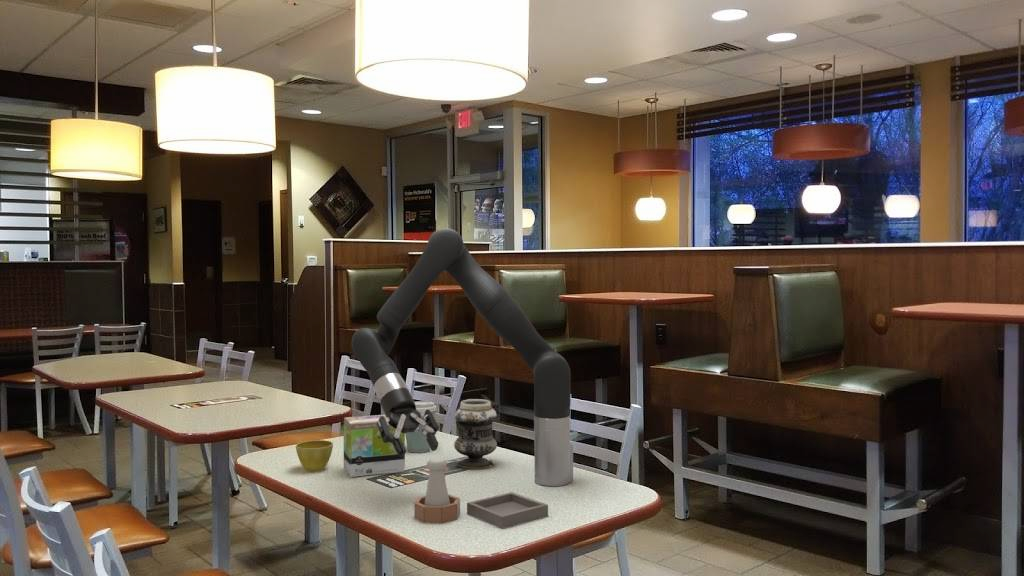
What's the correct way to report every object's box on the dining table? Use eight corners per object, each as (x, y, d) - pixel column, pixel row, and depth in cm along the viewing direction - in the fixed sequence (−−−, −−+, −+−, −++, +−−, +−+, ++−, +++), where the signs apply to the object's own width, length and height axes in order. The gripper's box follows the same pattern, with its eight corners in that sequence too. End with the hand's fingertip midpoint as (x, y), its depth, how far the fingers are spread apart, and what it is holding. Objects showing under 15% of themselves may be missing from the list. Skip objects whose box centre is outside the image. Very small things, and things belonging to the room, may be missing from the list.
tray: (511, 502, 186) (511, 491, 186) (548, 515, 175) (547, 504, 175) (467, 513, 178) (466, 502, 177) (502, 528, 167) (502, 516, 167)
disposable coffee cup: (402, 447, 243) (401, 399, 243) (437, 445, 245) (436, 398, 244) (401, 455, 233) (400, 405, 232) (437, 454, 234) (437, 404, 234)
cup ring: (443, 506, 183) (443, 491, 183) (467, 516, 175) (467, 501, 175) (408, 515, 177) (407, 499, 177) (431, 526, 169) (430, 510, 169)
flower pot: (337, 471, 215) (336, 445, 215) (300, 476, 211) (299, 450, 211) (328, 463, 224) (328, 438, 224) (292, 467, 220) (292, 442, 220)
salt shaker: (446, 520, 173) (445, 462, 172) (421, 519, 174) (420, 461, 173) (453, 512, 178) (452, 455, 178) (429, 511, 180) (428, 455, 179)
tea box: (350, 478, 208) (350, 423, 208) (343, 469, 217) (342, 416, 217) (405, 472, 214) (405, 418, 214) (396, 463, 223) (395, 412, 223)
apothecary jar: (492, 471, 214) (491, 405, 213) (449, 469, 216) (448, 404, 215) (500, 460, 226) (500, 398, 225) (460, 458, 228) (459, 397, 227)
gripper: (373, 389, 184) (398, 447, 175) (424, 383, 192) (451, 437, 184) (362, 409, 188) (387, 466, 179) (413, 402, 197) (439, 456, 188)
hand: (419, 451), depth 181 cm, fingers open, 8 cm apart
